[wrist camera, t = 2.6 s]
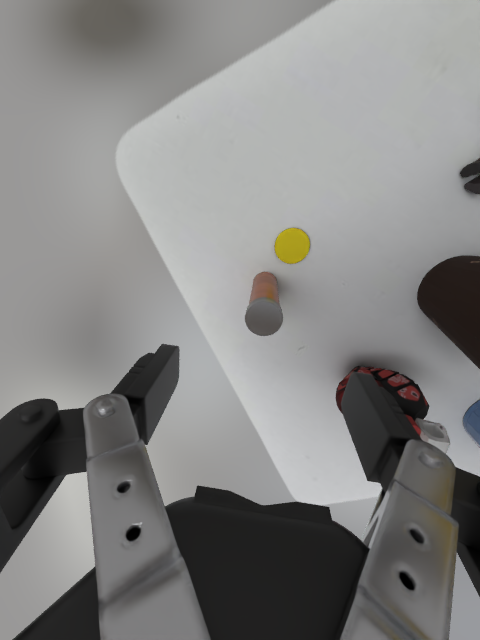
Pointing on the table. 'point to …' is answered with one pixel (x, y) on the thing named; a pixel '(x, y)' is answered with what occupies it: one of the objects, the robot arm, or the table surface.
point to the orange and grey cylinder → (264, 306)
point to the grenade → (404, 403)
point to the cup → (473, 422)
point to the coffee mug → (455, 302)
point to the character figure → (476, 185)
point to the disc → (292, 245)
